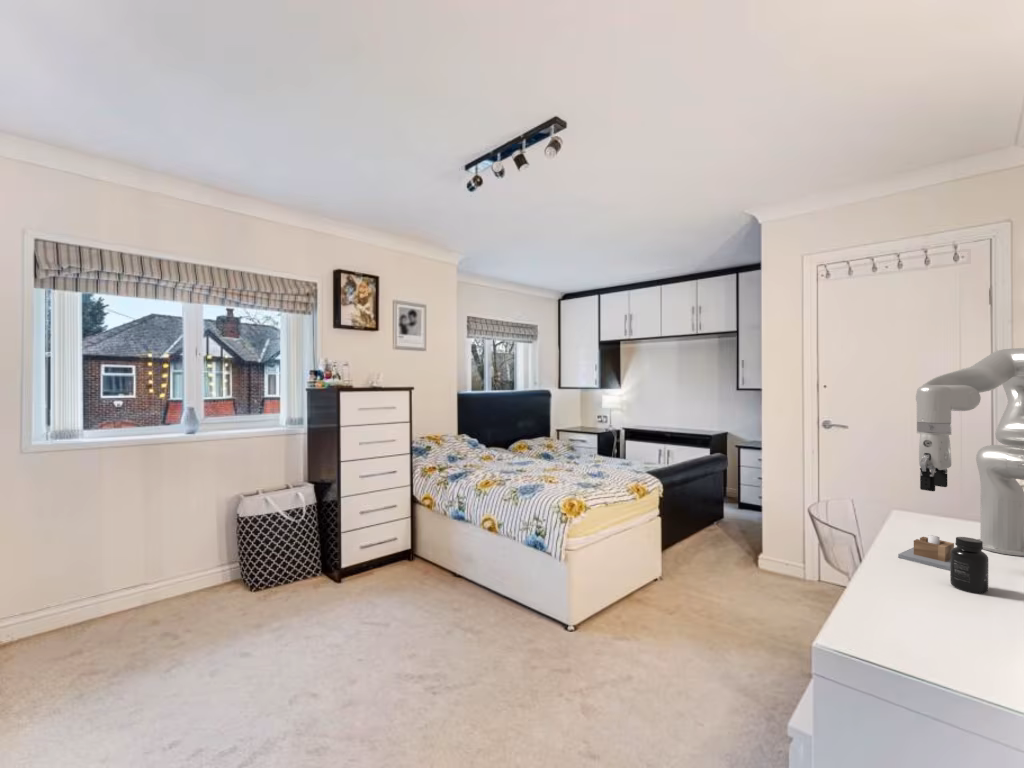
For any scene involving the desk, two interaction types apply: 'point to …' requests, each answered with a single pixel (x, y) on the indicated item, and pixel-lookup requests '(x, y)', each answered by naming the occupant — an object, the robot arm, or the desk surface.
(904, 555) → the post base
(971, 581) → the supplement bottle
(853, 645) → the desk surface
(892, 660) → the desk surface
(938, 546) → the wooden arch block
